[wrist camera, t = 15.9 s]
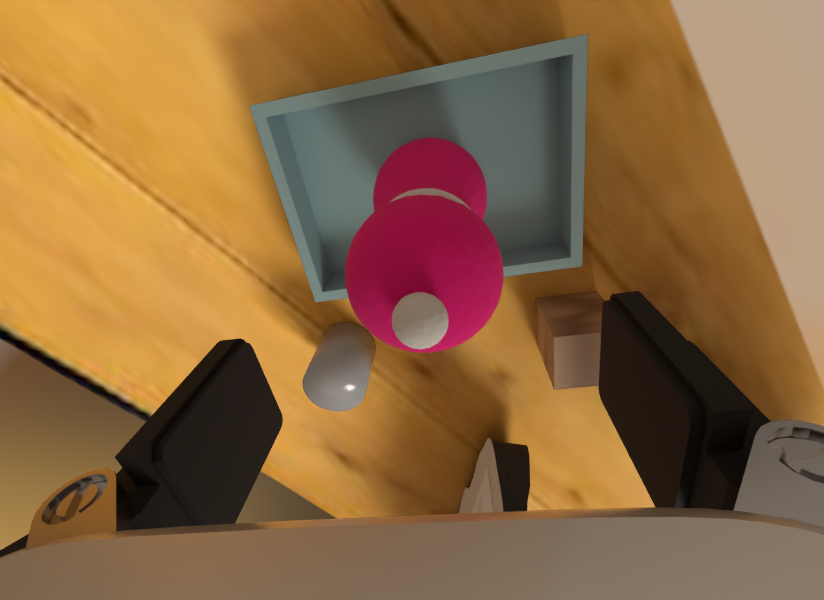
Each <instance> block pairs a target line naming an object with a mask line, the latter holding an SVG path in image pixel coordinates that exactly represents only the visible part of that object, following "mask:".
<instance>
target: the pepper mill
mask: <svg viewBox="0 0 824 600" xmlns="http://www.w3.org/2000/svg"><path fill="white" fill-rule="evenodd" d="M373 205H374V213H373V214H372V215H371V216H370V217H369V218H368V219H367V220H366V221H365V222H364V223H363V225H362V226H361V227H360V229H359V230H358V231H357V233H356V234H355V236H354V238H353V241H352V243H351V245H350V248H349V251H348V255H347V258H346V266H345V284H346V290H347V293H348V297H349V300H350V304H351V306H352V308H353V310H354V312H355V314H356V316H357V317H358V319H359V320H360V321H361V323H362V324H363V325H364V326H365V327H366V328H367V329H368V330H369V331H370V332H371V333H372V334H373V335H374V336H376V337H377V338H379V339H380V340H382V341H383V342H385V343H387V344H389V345H392V346H394V347H396V348H399V349H403V350H406V351H410V352H423V353H429V352H437V351H443V350H446V349H449V348H452V347H454V346H457V345H459V344H462V343H463V342H465V341H467V340H468V339H470V338H471V337H472V336H474V335H475V334H476V333H477V332H478V331H479V330H480V329H481V328H482V327H484V325H485V324H486V323H487V321H488V320H489V319H490V318H491V316H492V314H493V312H494V310H495V309H496V307H497V305H498V302H499V299H500V296H501V291H502V286H503V277H504V272H503V261H502V256H501V252H500V248H499V246H498V244H497V241H496V239H495V237H494V235H493V234H492V232H491V230H490V229H489V227H488V226H487V225H486V223H485V222H484V220H483V218H484V215H485V211H486V207H487V189H486V182H485V179H484V175H483V172H482V170H481V168H480V166H479V165H478V163H477V161H476V160H475V159H474V158H473V156H472V155H471V154H470V153H469V152H467V151H466V150H465V149H464V148H462V147H461V146H459V145H457V144H456V143H454V142H451V141H448V140H445V139H441V138H421V139H417V140H413V141H411V142H408V143H406V144H404V145H402V146H401V147H399V148H397V149H396V150H395V151H394V152H393V153H392V154H390V156H389V157H388V158H387V159H386V160H385V162H384V163H383V165H382V167H381V168H380V170H379V173H378V175H377V178H376V182H375V187H374V191H373Z"/></svg>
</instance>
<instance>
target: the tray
mask: <svg viewBox="0 0 824 600" xmlns="http://www.w3.org/2000/svg"><path fill="white" fill-rule="evenodd" d="M587 52H588V34H585V35H581V36H576V37H571V38H566V39H562V40H557V41H552V42H548V43H543V44H538V45H533V46H529V47H524V48H519V49H515V50H510V51H505V52H500V53H496V54H491V55H486V56H482V57H477V58H472V59H467V60H463V61H458V62H453V63H449V64H444V65H439V66H434V67H430V68H425V69H420V70H416V71H411V72H406V73H401V74H397V75H392V76H387V77H383V78H378V79H373V80H368V81H364V82H359V83H354V84H350V85H345V86H340V87H335V88H331V89H326V90H321V91H317V92H312V93H307V94H302V95H298V96H293V97H288V98H284V99H279V100H274V101H269V102H265V103H260V104H255V105H251V106H249V107H250V110H251V113H252V116H253V119H254V122H255V125H256V128H257V131H258V134H259V137H260V139H261V142H262V145H263V148H264V151H265V154H266V157H267V160H268V163H269V166H270V169H271V172H272V175H273V178H274V181H275V184H276V187H277V190H278V193H279V196H280V199H281V202H282V205H283V208H284V211H285V213H286V216H287V219H288V222H289V225H290V228H291V231H292V234H293V237H294V240H295V243H296V246H297V249H298V252H299V255H300V258H301V261H302V264H303V267H304V270H305V273H306V276H307V279H308V282H309V285H310V287H311V290H312V293H313V296H314V299H315V302H323V301H330V300H337V299H345V298H349V297H348V293H347V290H346V284H345V266H346V258H347V255H348V251H349V248H350V245H351V243H352V241H353V238H354V236H355V234H356V233H357V231H358V230H359V229H360V227H361V226H362V225H363V223H364V222H365V221H366V220H367V219H368V218H369V217H370V216H371V215H372V214H373V213H374V205H373V191H374V187H375V182H376V178H377V175H378V173H379V170H380V168H381V167H382V165H383V163H384V162H385V160H386V159H387V158H388V157H389V156H390V154H392V153H393V152H394V151H395V150H396V149H397V148H399V147H401V146H402V145H404V144H406V143H408V142H411V141H413V140H417V139H421V138H441V139H445V140H448V141H451V142H454V143H456V144H457V145H459V146H461V147H462V148H464V149H465V150H466V151H467V152H469V153H470V154H471V155H472V156H473V158H474V159H475V160H476V161H477V163H478V165H479V166H480V168H481V170H482V172H483V175H484V179H485V182H486V189H487V207H486V211H485V215H484V218H483V220H484V222H485V223H486V225H487V226H488V227H489V229H490V230H491V232H492V234H493V235H494V237H495V239H496V241H497V244H498V246H499V248H500V252H501V256H502V261H503V272H504V277H507V276H515V275H522V274H529V273H537V272H544V271H551V270H559V269H566V268H574V267H581V266H582V256H583V215H584V175H585V134H586V93H587Z"/></svg>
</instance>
